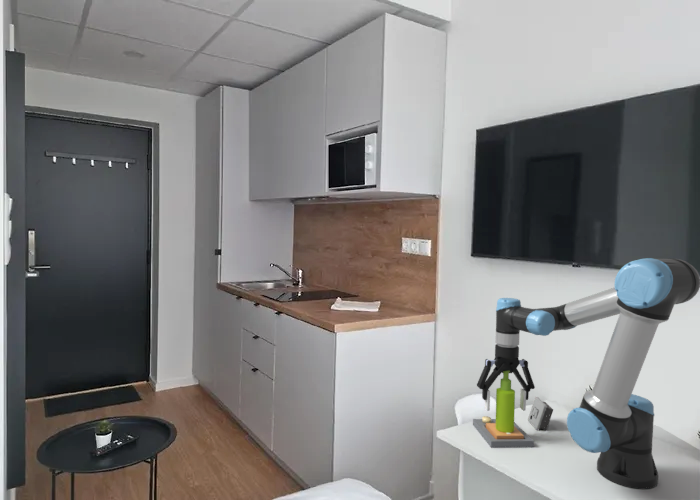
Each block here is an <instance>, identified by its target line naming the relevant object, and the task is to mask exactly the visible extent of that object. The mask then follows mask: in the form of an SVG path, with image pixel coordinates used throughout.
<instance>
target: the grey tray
mask: <svg viewBox="0 0 700 500" xmlns="http://www.w3.org/2000/svg"><path fill="white" fill-rule="evenodd" d="M486 423H496V418H492V417H490V416H482V417H481V418H473V419H472V426H473V427H474V428H475V430H476V431H477V432H478V434H480V436H481V437H482V438H483V440H485V442H486V443H487V444H488V445H489V447H490V448H492V449H493V448H534V446H535V440H534V439H533V438H531V437H530V436H529V435H528V434H527V433H526V432H525V431H524V430H523V429H522V428H521V427H520V426H519V425H518V424H517V423H516V422H515V421H514V426H515V427H516V428H517V429H518V430H519V431H520V432H521V433H522V434H523V435H524V439H495V438H494V437H493V436H492V434H491V433H490V432H489V431H488V430H487V429H486Z"/></svg>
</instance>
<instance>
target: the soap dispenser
mask: <svg viewBox="0 0 700 500" xmlns="http://www.w3.org/2000/svg"><path fill="white" fill-rule="evenodd" d="M509 372H510V371H503V373H502V378H500V385H499V387H497V388H496V392H495V393H496V394H495V419H496V429H497V430H498V431H501V432H505V433H510V432H513V431H514V422H515V407H516V405H515V403H516V402H515V401H516V391H515V390H514V389H513V388H512V380H511V379H510V378H509V377H510V375H509V374H510V373H509Z"/></svg>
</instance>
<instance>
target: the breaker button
mask: <svg viewBox="0 0 700 500" xmlns="http://www.w3.org/2000/svg"><path fill="white" fill-rule="evenodd" d="M486 429H487V430H488V431H489V432H490V433H491V434H492V436H493V437H494V438H495V439H524V435H523V434H522V433H521V432H520V431H519V430H518V429H517V428H516V427H515V426H514V431H513V432H510V433H505V432H501V431H498V430H497V429H496V423H486Z"/></svg>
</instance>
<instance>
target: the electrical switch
mask: <svg viewBox="0 0 700 500" xmlns="http://www.w3.org/2000/svg"><path fill="white" fill-rule="evenodd" d="M553 412H554V409H553V408H552V406H550V405H549V404H548V403H547V402H546V401H544V400H542V399H541V398H540V397H538V396H535V397H534V399H533V402H532V405H531V408H530V410H529V414H528V417H527V420H528V423H530V424H531V425H532V427H533V428H534V429H535V430H536V431H539V430H540V429H541V430H544V431H547V429H548V427H549V424H550V421H551V418H552V415H553Z"/></svg>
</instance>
